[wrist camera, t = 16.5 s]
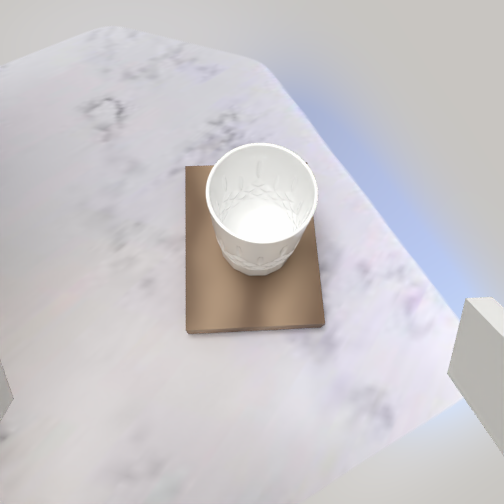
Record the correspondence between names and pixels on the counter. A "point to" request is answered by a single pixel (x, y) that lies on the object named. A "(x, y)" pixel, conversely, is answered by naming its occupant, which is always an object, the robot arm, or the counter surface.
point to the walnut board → (244, 278)
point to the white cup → (260, 205)
